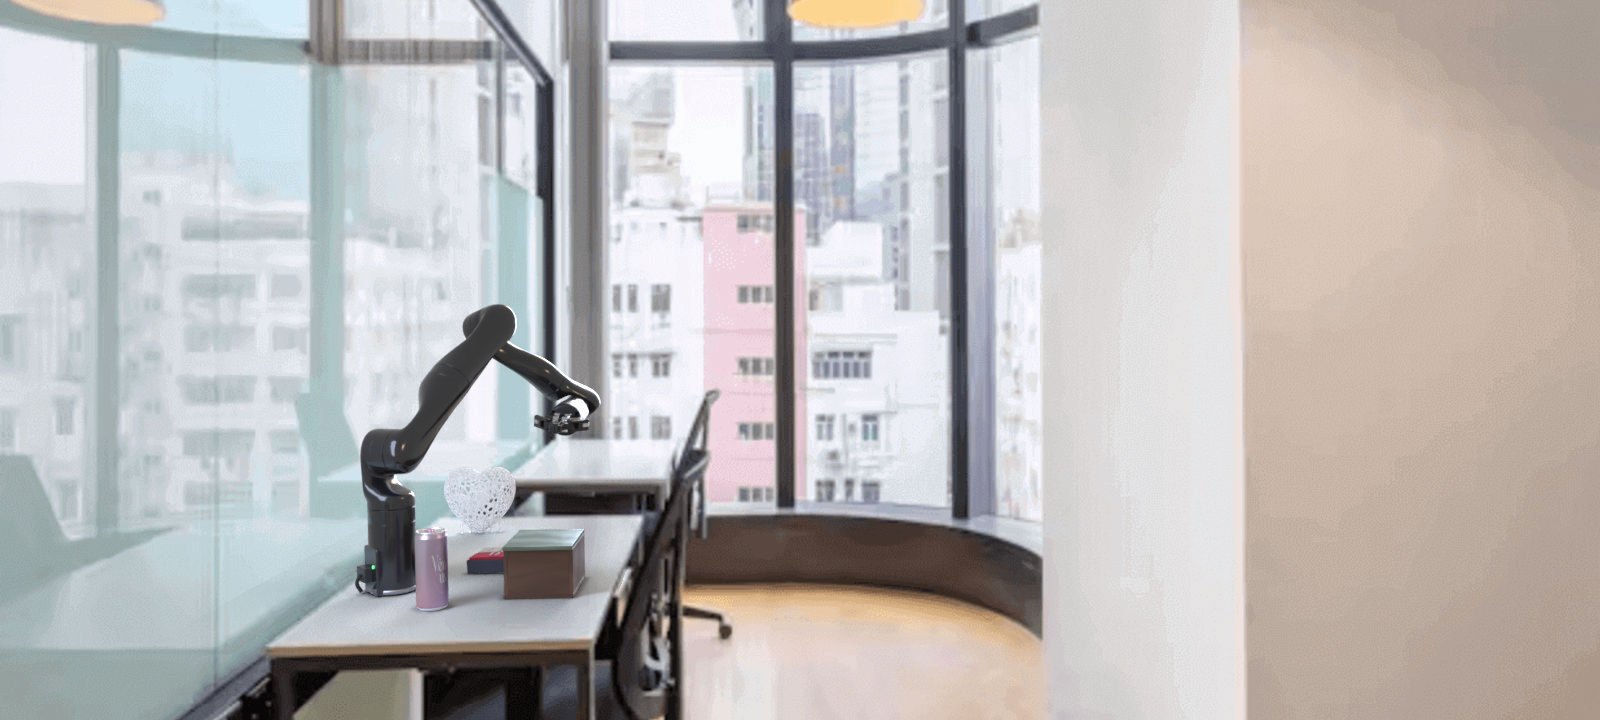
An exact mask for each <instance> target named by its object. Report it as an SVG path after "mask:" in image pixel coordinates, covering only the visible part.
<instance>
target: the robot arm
mask: <svg viewBox="0 0 1600 720" xmlns="http://www.w3.org/2000/svg"><path fill="white" fill-rule="evenodd" d="M517 325H518V324H517V316H516V314H515V312H514V310H513V309H512V308H511V307H509V306H507V305H506V304H501V303H494V304H489V305H486V306H484V307H482V308H480V309H478V310H475V311H473V312H471V313H470V314H468V315H467V316H465V318H464V320H463V322H462V327H461V328H462V334H463V336H464V338H465V340H463V341H461V342H460V343H459V344H458V345H456V346H455V347H453V348H452V349H451V350H450V351H448V352H447V353H446V354H445V355H443V356H442V357H441V358H440V359H439V360H438V361H437V362H436V363H434V365H433V366H432V367H431V368H430V370H429V371H428V372H427V373H426V374H425V376H424V377H423V378H422V380H421V382H420V384H419V386H418V392H417V399H418V400H417V401H418V409H417V412H416V414H415V415H414V416H413V418H411V420H410V422H408V423H407V425H405V426H404V427H403V428H383V427H382V428H379V427H378V428H373V429H371V430H369V431H368V432H367V433H366V434H364V435H365V436H363V439H362V441H361V445H360V453H359V459H360V472H361V474H360V475H361V487H362V493H363V497H364V498H365V502H366V513H367V544H365V545H364V547H363V548H364V549H363V552H364V553H363V554H364V564H362V565H361V564H360V565H356V578H355V580H354V586H355V588H356V590H357V592H359V594H360V593H361V594H362V593H363V592H364V590H363V588H362V587H361V585H360V582H361V583H363V584H364V589H365V592H366V593H369V594H371V595H373V596H375V597H383V596H398V595H403V594H407V593H411V592H413V591H416V579H415V535H416V533H415V532H416V531H417V529H416V528H417V523H416V521H417V519H416V495H415V492H414V491H413V490H411V489H410V488H408V487H406V486H405V485H404V484H402V483H401V482H400V481H399V480H398V478H397V475H399V476H400V475H402V476H403V475H408V474H411V473H412V472H414V471H415V470H416V469H417V468H418V467H419V465H421V463H422V462H423V460H424V458H425V456H426V455H427V453H428V452H429V450H430V448H431V446H432V444H433V442H434V441H435V439H436V437H437V435H438V434H439V433H440V431H441V430H442V429H443V427H444V425H445V424H446V422H447V421H448V420H449V418H450V417H451V415H452V413H454V411H455V409H456V408H457V407H458V406H459V405H460V404H461V402H462V401H463V400H464V399H465V397H466V396H467V394H468V393H469V392H470V390H471V388H472V387H473V385H475V383H476V381H477V380H478V379H479V377H481V375H482V373H483V372H484V370H485V369H486V368H487V366H488V365H489V363H490V362H491V361H492V360H495V361H496V362H497V363H499V364H501V365H503V366H504V367H506V368H507V369H509V370H511V371H512V372H513V373H515V374H517V375H518V376H519V377H521V378H522V379H524V380H525V381H526V382H528V383H529V384H530V385H531V386H532V387H534V388H535V389H536V390H537V391H538V392H539V393H541V394H542V395H543V396H544V397H545V398H547V399H548V400H549V401H551V402H558V401H560V400H561V399H563V398H566V397H567V398H566V399H564V400H562V401H560V402H559V403H558V404H556V405H555V406H554V407H553V408H551V410H550V412H549V414H547V415H545V416H543V415H539V414H536V415H535V414H534V416H533V417H534V418H533V427H535V428H536V429H537V428H538V429H541V430H543V431H545V432H547V431H548V432H550V434H555V435H558V436H563V437H567V436H568V437H569V436H572V435H574V434H575V433H576V432H583V431H585V432H586V431H587V432H588V431H589V429H590V419H589V417H591V415H593V414H594V413H595V412H596V411H597V410H599V409H600V406H601V399H600V396H599V394H598V393H597V392H596V391H595V390H594V389H592V388H590V387H588V386H587V385H584V384H582V383H580V382H578V381H575V380H573V379H572V378H570V377H568V376H567V375H565V374H564V373H563V372H562V371H561V370H560V369H559V368H558V367H557V366H556V365H554V364H553V363H552V362H551V361H549V360H547V359H546V358H544V357H541V356H539V355H537V354H534V353H532V352H529V351H527V350H524V349H522V348H520V347H518V346H517V345H515V344H513V343H512V342H510V341H511V339H513V337H514V336H515V333H516V331H517Z"/></svg>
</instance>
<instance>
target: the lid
mask: <svg viewBox="0 0 1600 720" xmlns="http://www.w3.org/2000/svg"><path fill="white" fill-rule="evenodd" d="M583 534H584V535H585V528H558V529H557V528H554V529H550V528H549V529H519V530H518V531H517V532H516V533H515V534H513V536H512V537H511V538H510V539H509V540H508V541H507V542H506V543H505V544H504V545H503V546H501V547H502V551H534V550H572V549H573V547H574V546H575V545H576V543H577V542H578V541H579V539H580V538H581V536H582V535H583Z"/></svg>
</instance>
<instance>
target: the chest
mask: <svg viewBox="0 0 1600 720" xmlns="http://www.w3.org/2000/svg"><path fill="white" fill-rule="evenodd" d="M585 546H586V545H585V533H584V534H583V535H582V536H581V538H580V539H579V541H578V542H577V543H576V545H575V546H574V547H573V549H572V550H534V551H503V560H504V572H503V599H504V600H531V599H533V600H534V599H535V600H536V599H573V598H574V597H575V596H576V594H577V592H578V591H579V589H580V588H581V586H582V584H583V582H584V581H585V579H586V551H585V550H586V549H585Z"/></svg>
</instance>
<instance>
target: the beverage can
mask: <svg viewBox="0 0 1600 720" xmlns="http://www.w3.org/2000/svg"><path fill="white" fill-rule="evenodd" d="M415 533H416V535H415V579H416V590H415V607H416V608H417V610H419V611H422V612H436V611H440V610H444V609H446V608H447V607H448V604H449V603H450V598H449V597H450V596H449V595H450V594H449V591H450V590H449V556H448V555H449V551H448V550H449V547H448V545H449V544H448V543H449V542H448V533H447V529H446V528H443V527H425V528H420V529H416V532H415Z"/></svg>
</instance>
